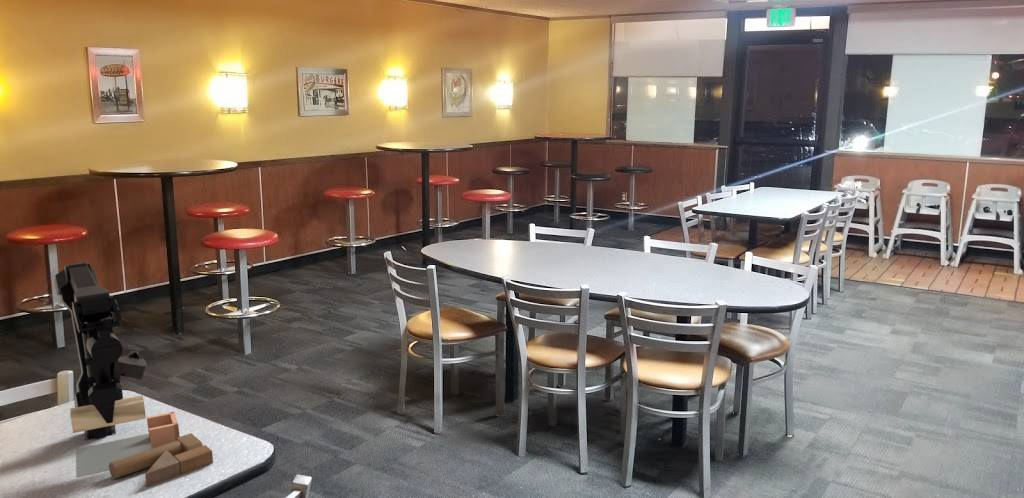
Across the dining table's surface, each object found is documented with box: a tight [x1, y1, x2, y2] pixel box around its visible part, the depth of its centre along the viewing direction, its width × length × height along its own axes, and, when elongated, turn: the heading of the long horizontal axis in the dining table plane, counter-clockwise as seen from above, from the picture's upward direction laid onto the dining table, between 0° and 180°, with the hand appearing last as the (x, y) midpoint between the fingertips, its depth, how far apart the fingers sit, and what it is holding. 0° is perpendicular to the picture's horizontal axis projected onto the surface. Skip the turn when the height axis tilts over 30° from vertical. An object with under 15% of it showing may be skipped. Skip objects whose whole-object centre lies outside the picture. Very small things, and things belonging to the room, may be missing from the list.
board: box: [75, 433, 152, 478], centre depth 175 cm, size 15×21×1 cm
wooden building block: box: [69, 394, 147, 434], centre depth 168 cm, size 4×14×4 cm, turn 119°
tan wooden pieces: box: [108, 432, 214, 488], centre depth 166 cm, size 4×11×18 cm
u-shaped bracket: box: [146, 411, 181, 449], centre depth 180 cm, size 8×6×5 cm
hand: (109, 419), depth 168 cm, fingers closed on wooden building block, 4 cm apart
